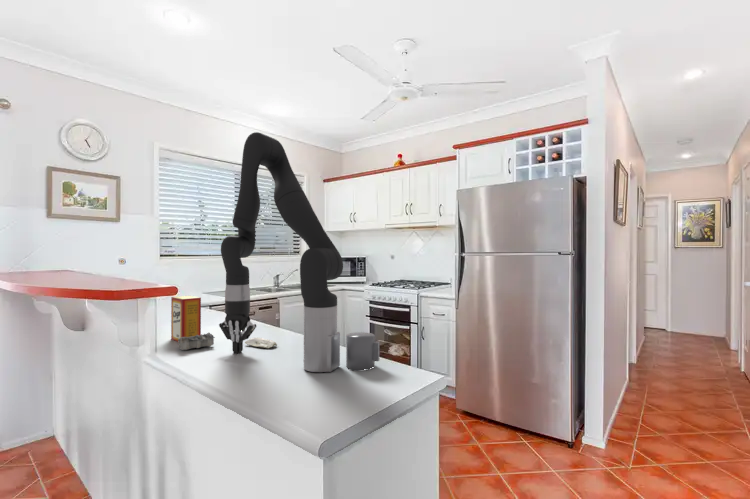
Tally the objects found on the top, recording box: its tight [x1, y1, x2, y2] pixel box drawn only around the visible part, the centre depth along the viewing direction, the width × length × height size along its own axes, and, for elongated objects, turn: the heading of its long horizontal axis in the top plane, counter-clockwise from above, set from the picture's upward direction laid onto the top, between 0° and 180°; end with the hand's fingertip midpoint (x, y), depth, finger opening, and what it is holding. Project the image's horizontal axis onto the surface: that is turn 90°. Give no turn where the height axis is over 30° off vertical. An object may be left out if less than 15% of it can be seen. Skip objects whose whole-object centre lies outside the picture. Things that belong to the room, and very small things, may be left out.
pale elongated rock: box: [244, 337, 278, 349], centre depth 134 cm, size 12×5×4 cm
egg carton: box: [177, 332, 216, 351], centre depth 132 cm, size 11×8×4 cm
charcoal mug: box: [345, 331, 380, 371], centre depth 111 cm, size 9×8×9 cm
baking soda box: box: [170, 295, 202, 343], centre depth 144 cm, size 10×6×16 cm
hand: (237, 353), depth 125 cm, fingers closed
